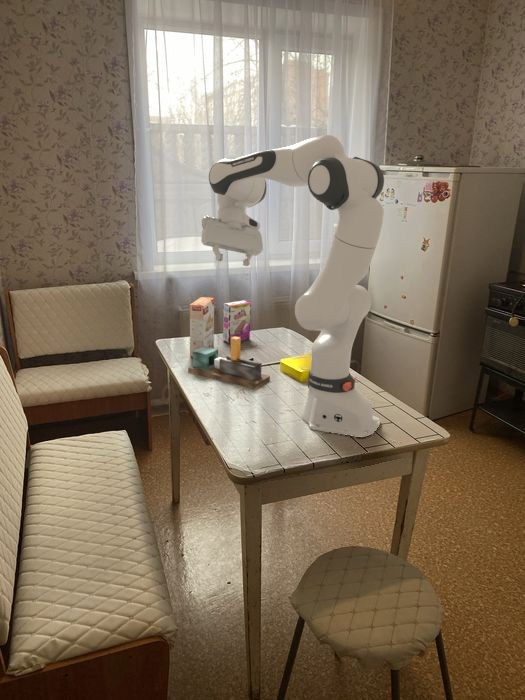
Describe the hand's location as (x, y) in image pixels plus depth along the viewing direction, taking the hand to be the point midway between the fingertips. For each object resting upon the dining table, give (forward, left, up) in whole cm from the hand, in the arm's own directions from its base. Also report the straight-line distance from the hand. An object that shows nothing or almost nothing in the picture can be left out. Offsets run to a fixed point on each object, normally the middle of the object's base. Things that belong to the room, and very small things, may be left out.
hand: (233, 262), depth 162 cm
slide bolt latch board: (+6, -7, -41) cm, 42 cm away
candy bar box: (+27, -43, -41) cm, 65 cm away
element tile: (-15, -26, -42) cm, 51 cm away
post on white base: (+5, -7, -39) cm, 40 cm away
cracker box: (+29, -22, -41) cm, 55 cm away
